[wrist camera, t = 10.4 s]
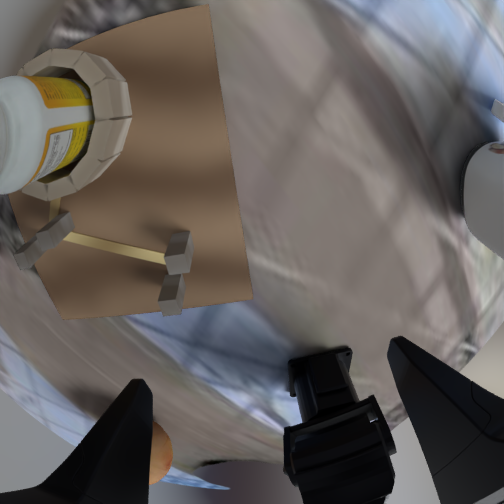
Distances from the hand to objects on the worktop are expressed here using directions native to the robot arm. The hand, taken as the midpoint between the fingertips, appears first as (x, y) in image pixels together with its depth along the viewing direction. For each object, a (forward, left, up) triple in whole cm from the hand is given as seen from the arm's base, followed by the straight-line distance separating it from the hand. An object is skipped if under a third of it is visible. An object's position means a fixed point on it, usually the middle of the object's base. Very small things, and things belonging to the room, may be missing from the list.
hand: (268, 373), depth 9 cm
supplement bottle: (+10, +10, -11) cm, 18 cm away
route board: (+5, +9, -12) cm, 15 cm away
